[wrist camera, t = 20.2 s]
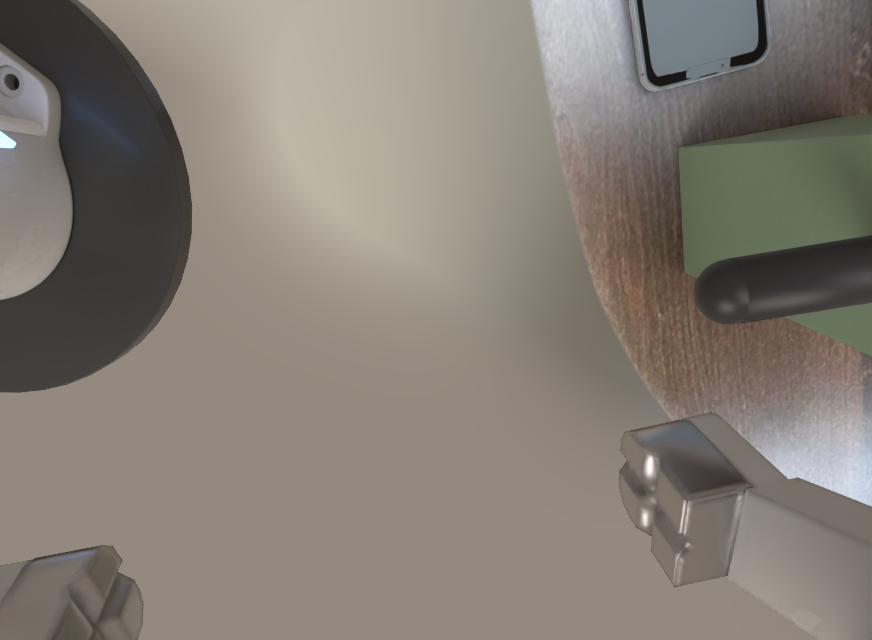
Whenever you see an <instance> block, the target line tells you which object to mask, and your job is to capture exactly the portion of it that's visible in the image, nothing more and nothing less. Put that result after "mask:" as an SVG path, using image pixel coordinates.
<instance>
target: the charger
mask: <svg viewBox="0 0 872 640" xmlns="http://www.w3.org/2000/svg"><path fill="white" fill-rule="evenodd" d="M694 299H695V302H696V305H697V306H698V308H699V310H700V311H701V312H702V313H703V314H704V315H705V316H706V317H708V318H709V319H711V320H713V321H715V322H718V323H721V324H740V323H747V322H753V321H760V320H766V319H772V318H779V317H785V316H792V315H798V314H804V313H811V312H817V311H824V310H830V309H836V308H843V307H849V306H856V305H862V304H868V303H872V235H869V236H863V237H856V238H850V239H844V240H838V241H832V242H826V243H820V244H814V245H808V246H802V247H795V248H789V249H783V250H777V251H771V252H765V253H759V254H753V255H747V256H741V257H734V258H728V259H724V260H720V261H717V262H715V263H712V264H711V265H709V266H708V267H707V268H705V269H704V270H703V271H702V272H701V274H700V275H699V276H698V278H697V280H696V282H695V286H694Z"/></svg>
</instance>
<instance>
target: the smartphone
mask: <svg viewBox="0 0 872 640" xmlns="http://www.w3.org/2000/svg"><path fill="white" fill-rule="evenodd" d="M628 3H629V10H630V17H631V24H632V31H633V38H634V45H635V52H636V59H637V66H638V73H639V79H640V82H641V84H642V86H643V87H644V88H645V89H647V90H648V91H651V92H660V91H664V90H667V89H671V88H675V87H679V86H682V85H686V84H690V83H694V82H697V81H701V80H705V79H709V78H712V77H716V76H720V75H723V74H727V73H731V72H735V71H738V70H742V69H746V68H749V67H752V66H755V65H757V64H759V63H761V62H762V61H763V60H764V59H765V58H766V57H767V55H768V53H769V51H770V48H771V33H770V20H769V8H768V0H628Z"/></svg>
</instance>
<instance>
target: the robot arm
mask: <svg viewBox="0 0 872 640" xmlns="http://www.w3.org/2000/svg"><path fill="white" fill-rule="evenodd" d="M16 77H17V78H18V80H19V87H18V89H16V87H15V85H14V79H15V78H16ZM60 125H61V99H60V95H59V92H58V90H57V88H56V86H55V85H54V84H53V83H52V82H51V81H50V80H49V79H48V78H47V77H46V76H44V75H43V74H42V73H40V72H39V71H38V70H36V69H35V68H34V67H32V66H31V65H30V64H28V63H27V62H26V61H24V60H23V59H21V58H20V57H19V56H17V55H16V54H15V53H13V52H12V51H11V50H9V49H8V48H7V47H5V46H4V45H3V44H1V43H0V300H3V299H8V298H12V297H15V296H18V295H21V294H23V293H25V292H27V291H29V290H31V289H33V288H34V287H36V286H37V285H39V284H40V283H41V282H42V281H44V280H45V279H46V278H47V277H48V276H49V275H50V274H51V273H52V271H53V270H54V269H55V268H56V266H57V265H58V263H59V262H60V260H61V258H62V256H63V254H64V252H65V250H66V247H67V245H68V242H69V238H70V234H71V229H72V222H73V200H72V192H71V186H70V182H69V177H68V174H67V171H66V167H65V164H64V161H63V158H62V154H61V150H60V144H59V135H60ZM620 451H621V452H622V454H623V455H624V457H625V458H626V460H627V462H626V463H625V464H624V466H623V467H622V468H621V469H620V471H619V488H620V492H621V497H622V501H623V504H624V506H625V508H626V511H627V513H628V515H629V517H630V518H631V520H632V522H633V523H634V525H635V526H636V528H638V529H639V530H641V531H643V532H645V533H646V534H648V535H650V536H652V543H651V552H652V553H653V555H654V556H655V558H656V559H657V561H658V562H659V564H660V566H661V567H662V569H663V570H664V572H665V573H666V575H667V576H668V578H669V579H670V581H671V583H672V584H673V586H674V587H678V586H682V585H687V584H692V583H696V582H701V581H706V580H710V579H715V578H719V577H724V576H728V578H727V579H729V580H730V581H731V582H733V583H734V584H736V585H737V586H739V587H740V588H742V589H743V590H745V591H746V592H748V593H749V594H751V595H752V596H754V597H755V598H756V599H758V600H759V601H761V602H763V603H764V604H766V605H767V606H768V607H770V608H771V609H773V610H774V611H776V612H777V613H779V614H780V615H782V616H783V617H785V618H786V619H788V620H789V621H791V622H792V623H793V624H795V625H796V626H798V627H799V628H801V629H802V630H804V631H805V632H807V633H808V634H810V635H811V636H813V637H814V638H816V639H817V640H872V507H871V506H869V505H866V504H864V503H861V502H859V501H856V500H853V499H851V498H848V497H846V496H843V495H841V494H838V493H836V492H833V491H831V490H828V489H825V488H823V487H820V486H818V485H815V484H813V483H810V482H808V481H805V480H803V479H800V478H794V479H787V478H786V477H785V476H784V475H783V474H782V473H781V472H780V471H779V470H778V469H777V468H776V467H774V466H773V465H772V464H771V463H770V462H769V461H768V460H767V459H766V458H765V457H764V456H763V455H761V454H760V453H759V452H758V451H757V450H756V449H755V448H754V447H753V446H752V445H751V444H750V443H748V442H747V441H746V440H745V439H744V438H743V437H742V436H741V435H740V434H739V433H738V432H737V431H735V430H734V429H733V428H732V427H731V426H730V425H729V424H728V423H727V422H726V421H725V420H724V419H723V418H721V417H720V416H719V415H717V414H714V413H712V412H710V413H705V414H701V415H697V416H692V417H688V418H684V419H682V420H676V421H671V422H667V423H663V424H658V425H653V426H649V427H645V428H640V429H636V430H631V431H627V432H624V435H623V436H622V438H621V448H620ZM121 563H122V559H121V557H120V556H119V554H118V553H117V552H116V550H115V548H114V547H113V546H108V545H107V546H106V545H101V546H96V547H91V548H86V549H81V550H75V551H70V552H65V553H60V554H54V555H49V556H44V557H39V558H34V559H33V560H27V561H22V562H17V563H11V564H6V565H1V566H0V640H138V637H139V634H140V631H141V628H142V623H143V600H142V596H141V592H140V589H139V587H138V586H137V584H136V582H135V580H134V579H132V578H130V577H127V576H125V575H123V574H121V573H119V572H118V570H119V568H120V565H121Z"/></svg>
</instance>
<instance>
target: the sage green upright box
mask: <svg viewBox="0 0 872 640" xmlns="http://www.w3.org/2000/svg"><path fill="white" fill-rule="evenodd" d="M678 155H679V175H680V195H681V215H682V235H683V256H684V272H685V273H687V274H689V275H691V276H693V277H696V278H698V276H699V275H700V274H701V272H702V271H703V270H704V269H705V268H707V267H708V266H709V265H711V264H712V263H715V262H717V261H720V260H724V259H728V258H734V257H741V256H747V255H753V254H759V253H765V252H771V251H777V250H783V249H789V248H795V247H802V246H808V245H814V244H820V243H826V242H832V241H838V240H844V239H850V238H856V237H863V236H869V235H872V113H868V114H860V115H851V116H843V117H838V118H833V119H827V120H822V121H817V122H811V123H806V124H801V125H795V126H790V127H785V128H779V129H774V130H769V131H763V132H758V133H753V134H747V135H742V136H737V137H731V138H726V139H720V140H715V141H710V142H704V143H699V144H694V145H688V146H683V147H679V148H678ZM785 318H788V319H790V320H792V321H794V322H796V323H799V324H801V325H803V326H805V327H808V328H810V329H812V330H814V331H817V332H819V333H821V334H823V335H826V336H828V337H830V338H832V339H835V340H837V341H839V342H841V343H844V344H846V345H848V346H850V347H853V348H855V349H857V350H859V351H862V352H864V353H866V354H868V355H871V356H872V303H868V304H862V305H856V306H849V307H843V308H836V309H830V310H824V311H817V312H811V313H804V314H798V315H792V316H785Z"/></svg>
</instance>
